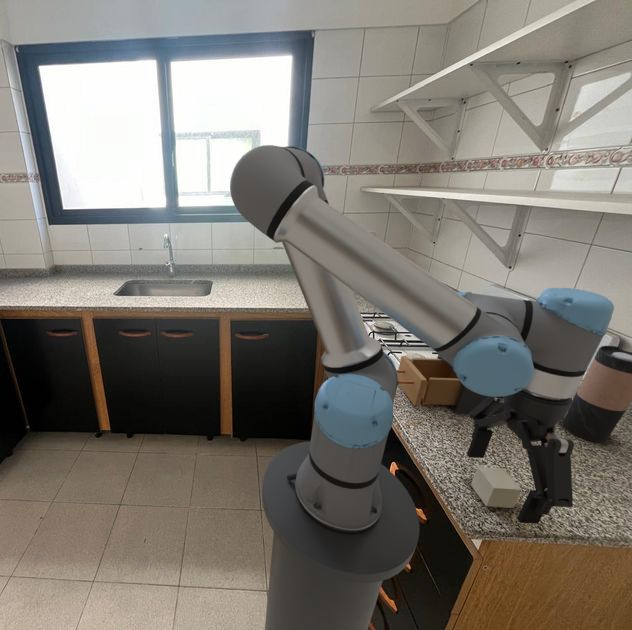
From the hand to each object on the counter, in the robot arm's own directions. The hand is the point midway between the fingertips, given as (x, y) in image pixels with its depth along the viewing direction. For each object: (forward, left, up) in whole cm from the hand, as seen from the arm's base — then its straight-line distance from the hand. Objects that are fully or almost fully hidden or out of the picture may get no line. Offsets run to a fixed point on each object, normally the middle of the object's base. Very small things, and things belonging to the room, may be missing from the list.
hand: (498, 485), depth 62 cm
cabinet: (+14, +30, -3) cm, 33 cm away
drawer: (+1, +30, -2) cm, 30 cm away
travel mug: (+32, +19, -3) cm, 37 cm away
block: (0, 0, -3) cm, 3 cm away
